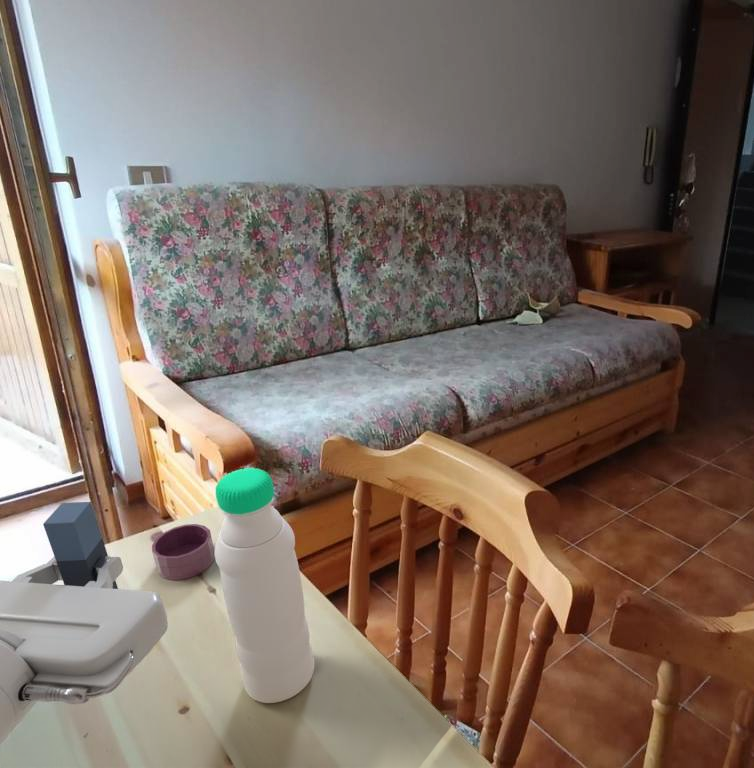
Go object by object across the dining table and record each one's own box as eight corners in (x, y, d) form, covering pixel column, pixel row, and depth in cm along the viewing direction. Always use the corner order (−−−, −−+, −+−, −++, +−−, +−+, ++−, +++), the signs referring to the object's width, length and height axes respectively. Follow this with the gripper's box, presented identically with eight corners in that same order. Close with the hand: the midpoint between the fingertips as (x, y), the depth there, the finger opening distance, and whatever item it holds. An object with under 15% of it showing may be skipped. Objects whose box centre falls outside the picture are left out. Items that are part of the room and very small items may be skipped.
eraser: (83, 639, 57) (42, 523, 52) (99, 614, 60) (61, 502, 55) (111, 637, 58) (73, 522, 52) (125, 612, 60) (91, 501, 55)
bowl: (149, 581, 79) (142, 559, 77) (169, 546, 85) (164, 525, 83) (205, 578, 80) (200, 556, 78) (222, 543, 86) (217, 522, 84)
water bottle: (275, 719, 62) (233, 511, 52) (230, 685, 65) (182, 484, 55) (329, 669, 68) (301, 472, 57) (284, 640, 71) (250, 450, 60)
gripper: (90, 672, 42) (197, 540, 55) (-195, 649, 43) (-26, 524, 56) (113, 734, 45) (210, 595, 58) (-156, 712, 46) (-4, 579, 59)
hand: (92, 560), depth 57 cm, fingers closed on eraser, 3 cm apart
